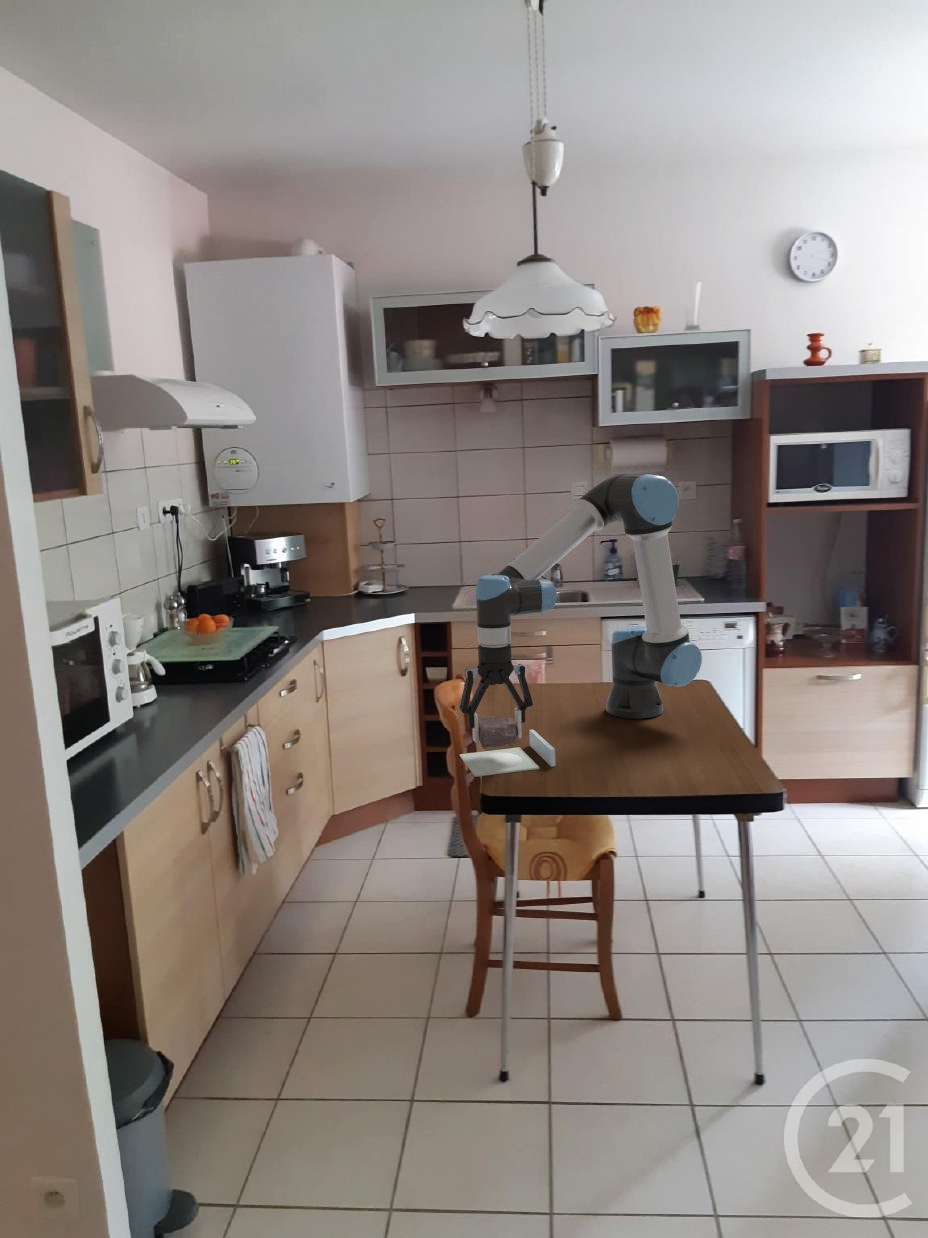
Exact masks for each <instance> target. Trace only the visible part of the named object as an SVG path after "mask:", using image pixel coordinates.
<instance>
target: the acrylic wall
mask: <svg viewBox="0 0 928 1238" xmlns="http://www.w3.org/2000/svg"><path fill="white" fill-rule="evenodd" d="M528 731H529V732H528V733H529V747H530V748H531V749H533V751H534V752H536V753H537V754H538V756H540V758H542V760H544V761H545V762H546V763H547V764H548V766H550V767H556V749H555V748H554V747H553V746H552V744H550V743H549V742H548V741H547V740H545V738H543V737H542V736H541V735H540V734H539V733H538V732H537V731H536V730H534V729H529V730H528Z"/></svg>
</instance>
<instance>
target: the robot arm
mask: <svg viewBox="0 0 928 1238" xmlns="http://www.w3.org/2000/svg"><path fill="white" fill-rule="evenodd" d="M679 507H680V497H679V494H678V491H677V489H676V486H675V485H674V483H673V482H671V480H669V479H668V478H666V477H664V476H660V475H654V474H650V473H647V474H615V475H614V476H610V477H607V478H606V479H604V480H602V481H601V482H599V483H598V484H596V485H594V487H591V489H589V490H588V491H587V492H586V493H584V494H583V495H582V496H581V497H580V498H579V499H577V500H576V501H575V503H574V508H573V509H572V510H571V511H570V512H568V513H567V514H566V515H565V516H563V518H561V519H560V520H559V521H558V522H557V523H555V524H554V525H553V526H552V527H551V528H549V529H548V530H547V531H545V533H543V535H541V536H540V537H538V538H537V540H535V541H534V542H533V543H531V545H530V546H529V547H527V548H526V549H525V550H524V551H523V552H521V553H520V554H519V555H518V556H517V557H515V558H514V559H513V560H512V561H511V562H509V563H508V564H507V565H506V566H505V567H504V568H502V569H501V570H500V571H499V572H498V573H488V574H486V575H483V576H480V577H479V578H477V580H476V585H475V586H476V587H475V601H476V602H475V603H476V619H477V620H476V622H477V643H478V647H477V656H478V657H477V658H478V664H477V667H476V668H472V669H470V668H466V669H465V670H464V674H465V682H464V686H463V691H462V694H461V699H460V703H459V707H458V708H459V711H460V712H461V713H463V714H466V715H467V725H468V727H469V728H470V729H472V740H473V742H474V743H475V744H477V743H480V740H479V731H478V720H479V715H478V713H476V712H477V709H478V707H479V705H480V703H481V702H482V700H483V697H484V695H485V693H486V692H487V689H488V688H489V687H490V686H494V685H504V686H505V687H506V688H507V689H506V690H508V692H509V694H510V695H511V697H512V699H513V701H514V702H515V704H516V705H517V707H514V723H515V725H516V731H517V737H516V738H518V739H522V737H523V735H522V733H523V732H522V731H523V730H522V724H524V723H526V711H527V709H528V708H530V707H532V706H533V705H534V702H533V698H532V696H531V692H530V687H529V684H528V682H527V677H526V666H525V665H523V664H521V663H519V664H513V662H512V644H510V643H511V642H512V637H511V636H512V634H511V633H512V632H511V617H513V616H520V615H521V616H522V615H527V614H528V615H529V614H536V613H539V614H541V613H544V612H548V611H551V610H553V609H554V607H555V606H556V603H557V599H558V598H557V590H556V589H557V588H556V587H555V584H554V583H553V581H551V580H549V579H548V578H547V579H546V578H544V579H542V578H541V577H542V576H543V575H545V574H546V573H547V572H548V571H550V569H551V568H553V567H554V566H555V565H557V563H558V562H560V561H561V560H562V559H563V558H564V557H566V555H568V554H569V553H570V552H571V551H573V550H574V549H575V548H576V547H577V546H578V545H579V544H580V543H582V542H583V541H584V540H586V539H587V538H588V536H590V535H591V534H592V533H593V532H601V531H602V530H603V529H604V528H605V527H606V526H608V525H611V524H613V523H617V522H622V523H623V528H624V533H625V535H626V537H629V538H630V539H631V540H632V545H633V546H632V547H633V552H634V558H635V564H636V570H637V577H638V582H639V588H640V595H641V600H642V601H641V602H642V608H643V613H644V620H645V626H632V627H623V628H619V629H616V630H614V631H613V633H612V636H611V637H612V640H611V645H610V646H611V663H612V665H611V669H612V670H611V672H612V673H611V674H612V684H611V688H610V691H609V693H608V697H607V699H606V705H605V706H606V707H605V708H606V709H605V711H606V713H607V714H608V715H611V716H612V717H616V718H621V719H632V720H633V719H634V720H635V719H636V720H639V719H642V720H643V719H649V718H654V717H657V716H660V715H662V713H664V703H663V700H662V697H661V694H660V691H659V689H658V688H659V687H658V684H657V683H661V684H664V685H665V686H672V687H676V688H677V687H678V688H679V687H681V688H682V687H685V686H687V685H689V684H690V683H691V682H692V681H694V680H695V679H696V677H697V675H698V673H699V672H700V670H701V666H702V661H703V655H702V651H701V649H700V648H699V646H697V645H696V644H695V643H694V642H691V639H690V633H689V629H688V628H687V627H685V625H683V624H682V621H681V616H680V609H679V602H678V596H677V595H678V594H677V588H676V582H675V581H676V580H675V576H674V574H675V573H674V570H673V569H674V568H673V562H672V555H671V548H670V542H669V541H670V540H669V535H668V534H669V532H670V531H671V530H672V528H673V520H674V519H675V517H676V515H677V511H678V510H679ZM540 578H541V579H540ZM513 671H514V674H516V677H517V680H518V683H519V687H520V690H521V693H522V697H523V700H522V698H521V696H520V694H519V693H518V691H517V689H516V688H515V686H514V684H513V683H512V681H511V678H510V676H511V675H512V673H513ZM477 675H478V676H479V677H480V680H479V682H478V686H477V688H476V689H475V690H476V691H475V692H474V694H473V697H472V698H471V695H472V691H473V686H474V679H476V677H477ZM470 699H471V701H470Z"/></svg>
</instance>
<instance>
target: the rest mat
mask: <svg viewBox="0 0 928 1238" xmlns="http://www.w3.org/2000/svg"><path fill="white" fill-rule="evenodd" d="M459 758H461V760H462V761H463V762H464V764H465V766H466V767H467V768H468V769H469V770H470V772H471V773H472V774H473V776H474V777H475V778H476V777H485V776H491V775H493V776H494V775H500V774H509V773H516V772H517V773H518V772H523V771H533V770H534V771H535V770H540V766H539V765H537V763H536V762H535V761H534V760H533V759H532V758H531V757H530V756H529V754H527V753H526V752H525V751H524V750H523V749H522V748H521V747H511V748H503V749H495V750H487V751H486V750H484V751H477V752H467V753H461V754H459Z"/></svg>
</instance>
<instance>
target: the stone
mask: <svg viewBox="0 0 928 1238" xmlns="http://www.w3.org/2000/svg"><path fill="white" fill-rule="evenodd" d="M478 731H479V743H480V745H481V748H482V749H484V750H485V749H490V748H500V747H505V746H507V745H513V744H516V742H517V738H518V737H517V731H516V725H515V719H513V718H512V717H510V716H506V717H505V716H503V717H502V716H478Z"/></svg>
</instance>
